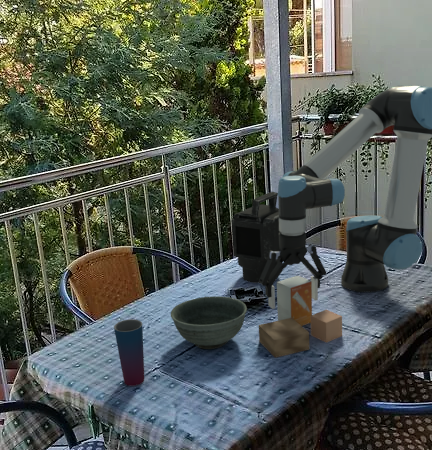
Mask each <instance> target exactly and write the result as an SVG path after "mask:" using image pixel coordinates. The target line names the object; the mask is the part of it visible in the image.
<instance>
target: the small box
mask: <svg viewBox="0 0 432 450" xmlns="http://www.w3.org/2000/svg"><path fill="white" fill-rule="evenodd" d="M276 298H277V299H276V305H277V309H276V310H277V321H279V320H284V319H288V318H293V319H294V320H295V321H296V322H297V323H299V324H300V325H301V326H302V327H303V326H306V325H308V324H309V325H310V324H311V315H313V299H312V281H311V279H307V278H306V277H302V276H300V275H296V276H292V277H287V278H285V279H283V280H279V281H276Z"/></svg>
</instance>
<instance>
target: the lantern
mask: <svg viewBox="0 0 432 450" xmlns="http://www.w3.org/2000/svg"><path fill="white" fill-rule="evenodd" d="M268 200H269V204H261V203H264V202H266V201H268ZM277 202H278V192H276V191H270V192H268V193H265V194H263V195H262V194H261V196H258V197H256V198H255V199H253V200H252V206H251V207H248V208H247V209H244V210H242V211H239V212H237V213H235V214H234V215H233V218H232V219H231V222H230V223H231V232H232V234H231V236H232V237H231V238H232V253H233V254H232V255H233V257H237V264H238V266H239V267H241V269H242V279H243V281H245V282H248V283H253V284H260V283H259V279H260V277H261V274H262V272H263V270H264V267H265V265H266V263H267V260H268V256H269V251H273V252H278V251H279V249H280V247H279V233H280V231H279V207H277ZM279 259H280V256H278V259H276V262H275V265H274V267H273V269H274V268H275V266H276V265H277V262H278V260H279ZM273 269H272V271H273Z"/></svg>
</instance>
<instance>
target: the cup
mask: <svg viewBox="0 0 432 450" xmlns="http://www.w3.org/2000/svg"><path fill="white" fill-rule="evenodd" d="M113 329H114V331H113V332H114V335H115V341H116V345H117V350H118V357H119V361H120V368H121V371H122V377H123V383H124V384H125V385H126V386H129V387H134V386H139V385H141V384H143V383H144V382H145V361H144V360H145V359H144V358H145V355H144V338H143V337H144V335H143V332H144V331H143V321H141V320H139V319H133V318H132V319H123V320H121V321H118V322H117V323H115V324H114V326H113Z"/></svg>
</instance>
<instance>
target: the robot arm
mask: <svg viewBox="0 0 432 450" xmlns="http://www.w3.org/2000/svg"><path fill="white" fill-rule="evenodd" d="M391 126H393V132H394V134H395V135H396V137H397V139H396V144H395V150H394V156H393V157H394V158H393V162H392V167H391V173H390V179H389V180H390V181H389V184H388V185H389V186H388V191H387V196H386V203H385V209H384V213H383V216H382V215H371V214H370V215H359V216H354V217H351V218H349V219H348V220H347V222H346V230H345V232H346V234H345V236H346V239H345V240H346V262H345V265H344V268H343V272H342V274H341V277H340V278H341V280H340V283H341V286H342V287H343V288H344V289H347V290H349V291H353V292H357V293H375V292H380V291H382V290H385V289H386V288H387V287H388V286H389V278H388V277H389V276H388V274H387V271H386V267H387V268H390V269H393V270H398V271H403V270H407V269H410V267H412V266H413V265H414V264H416V263H417V262H418V260H419V259H420V257H421V254H422V251H423V242H422V240H421V238H420V237H419V236H418V235H417V232H418V225H417V223H415V220H414V219H415V213H416V207H417V201H418V196H419V191H420V187H421V180H422V175H423V169H424V164H425V158H426V153H427V147H428V142H429V140H431V139H432V87H431V86H427V85H419V86H418V85H412V86H411V85H410V86H409V85H406V86H405V85H396V86H392V87H389V88H386V89H385V90H384V91H382V92H380V93H378V94H377V95H375V96H374V97H373V98H372V99H370V100H369V101H368V102H367V103H365V104H364V105H363V106H362V107H360V109H359V111H358V115H357V116H356V117H355V118H354V119H353V120H351V122H350V123H348V124H347V125H346V126H345V127H343V128H342V129H341V130H340V132H338V133H337V134H336V135H335V136H334V137H332V138H331V140H329V141H328V142H327V143H326V144H325V145H324V146H322V147H321V148H320V149H319V150H318V151H317V152H316V153H314V155H313V156H312V157H311V158H310V159H309V160H307V161H306V162H305V163H304V164H303V165H302V166H300V168H298V169H297V170H295V171H294V170H293V171H292V170H291V171H287V172H285V173H284V174H283V175H282V177H281V178H279V180H278V184H277V185H278V186H277V188H278V189H277V193H278V196H277V202H278V203H277V204H278V206H277V207H278V209H279V231H280V233H279V247H280V249H279V251H278V252H273V251H269V256H268V260H267V263H266V265H265V267H264V270H263V272H262V274H261V277H260V279H259V283H258V284H260V285H261V286H263V287H265V288H264V289H265V290H264V291H265V296H266V297H267V298H268V307H270V308H271V310H275V309H276V296H275V295H276V293H275V292H276V291H275V286H274V283H275V282H277V280H278V278H279V276H280V275H281V273H282V272H283V270H284V269H286V268H287V267H288V265H289V266H293V265H300V263H301V264H302V265H303V266H305V268H306V269H307V270H308V271H309V272H310V273H311V274H312V276H310V281H312V300H314V301H315V302H316V301H319V300H318V299H319V295H318V293H319V292H318V289H320V288H321V280H322V279H323V276H326V275H327V270H326V268H325V267H324V265H323V263H322V261H321V259H320V257H319V255H318V252H317V246H315V245H313V244H312V243H310V244H309V245H308V246H306V245H307V233H306V231H307V210H310V209H312V210H313V209H318V208H319V209H320V208H324V207H325V208H326V207H333V206H335V205H340V204H341V203H342V202H343V201H344V199H345V197H346V194H345V191H346V189H345V186H344V183H343V182H342V180H341V179H339V178H328V177H329V175H331V174H332V173H333V172H334V171H335V170H337V169H338V168H339V166H341V165H342V164H343V163H344V162H346V160H347V159H349V158H350V156H352V155H353V154H354V153H355V152H356V151H357V150H358V149H359V148H360V147H362V146H363V145H364V144H365V143H366V142H367V141H368V140H369V139H371V138H372V137H373V136H374V135H375V134H381V133H382V132H383V131H384V130H385V129H387V128H388V127H389V128H390V127H391ZM326 178H327V179H326ZM307 253H308V254H309V255H310V258H311V260H312V261H313V263H314V265H315V267H316V268H315V267H314V266H313V265H312V263H310V262H309V260H308V259H307V258H306V257H305V256H306V255H307ZM278 256H280V259H279V260H278V262H277V265H276V266H275V268H274V269H273V267H274V265H275V262H276V259H278ZM272 269H273V271H272Z"/></svg>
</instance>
